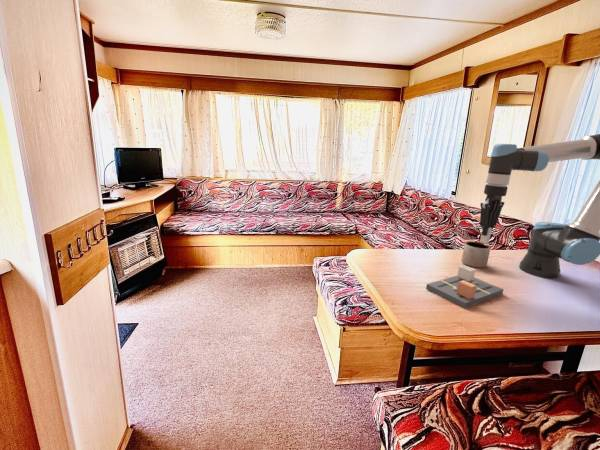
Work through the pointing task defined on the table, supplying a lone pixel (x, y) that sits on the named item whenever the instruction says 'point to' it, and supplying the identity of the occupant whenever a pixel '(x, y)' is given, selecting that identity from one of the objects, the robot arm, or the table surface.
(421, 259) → the table surface
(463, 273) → the block
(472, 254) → the planter
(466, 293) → the block
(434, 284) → the grey slider base plate
